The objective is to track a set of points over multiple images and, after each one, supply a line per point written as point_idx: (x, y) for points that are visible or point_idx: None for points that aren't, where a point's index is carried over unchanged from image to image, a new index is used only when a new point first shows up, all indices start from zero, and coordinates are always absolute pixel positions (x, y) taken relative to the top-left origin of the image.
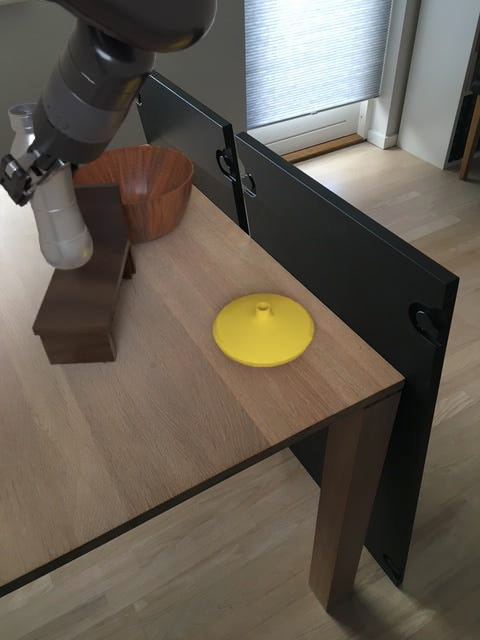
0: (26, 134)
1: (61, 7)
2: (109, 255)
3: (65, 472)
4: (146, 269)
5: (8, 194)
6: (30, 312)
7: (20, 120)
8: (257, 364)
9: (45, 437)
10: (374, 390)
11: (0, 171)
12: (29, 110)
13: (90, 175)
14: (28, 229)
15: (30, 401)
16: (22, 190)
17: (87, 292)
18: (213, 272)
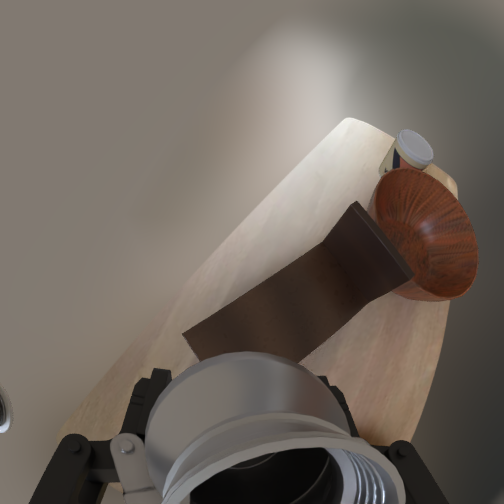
0: None
1: None
2: (332, 311)
3: (115, 435)
4: (356, 318)
5: (135, 386)
6: (237, 263)
7: None
8: None
9: (128, 399)
10: None
11: (36, 494)
12: (359, 455)
13: (405, 181)
14: (324, 168)
15: (148, 359)
16: (101, 497)
17: (265, 344)
18: (388, 379)
